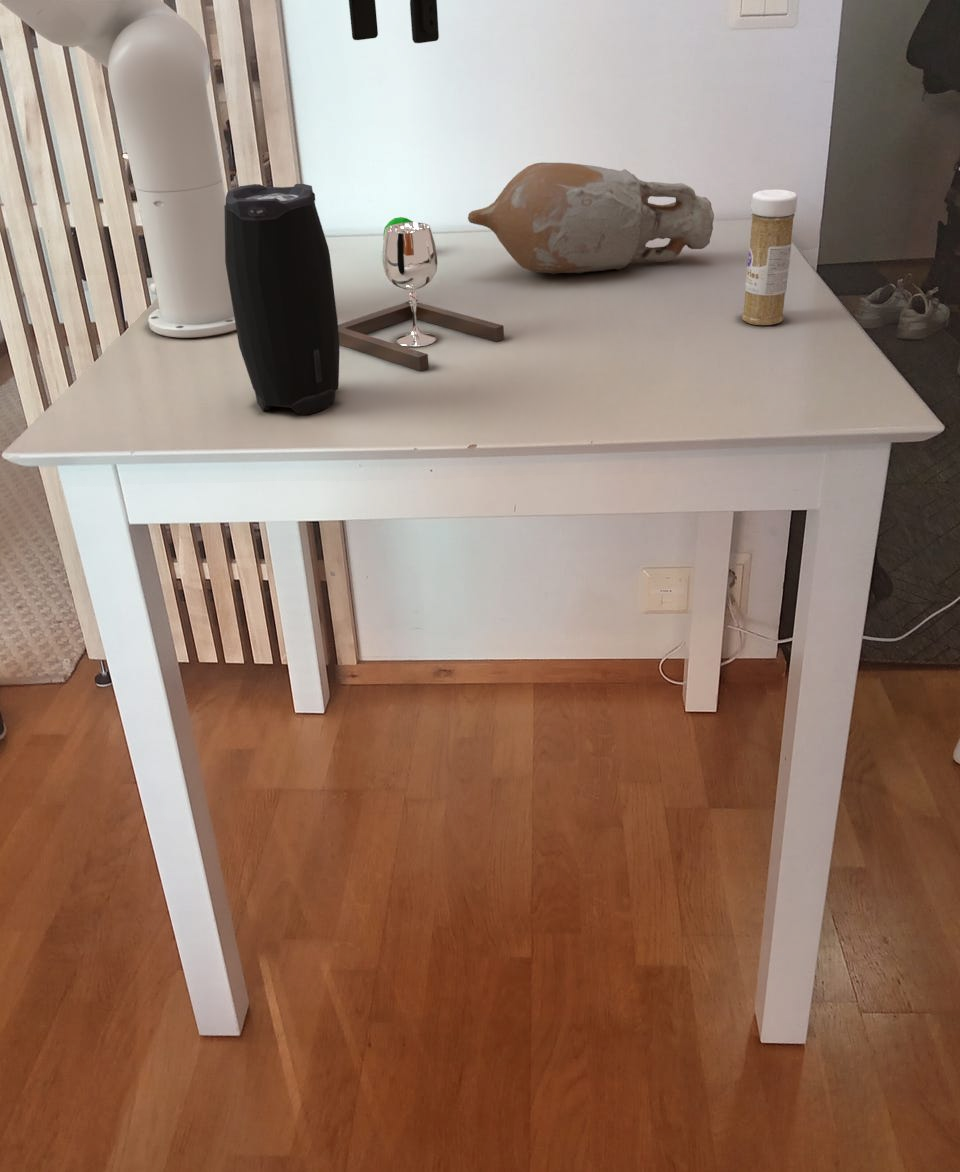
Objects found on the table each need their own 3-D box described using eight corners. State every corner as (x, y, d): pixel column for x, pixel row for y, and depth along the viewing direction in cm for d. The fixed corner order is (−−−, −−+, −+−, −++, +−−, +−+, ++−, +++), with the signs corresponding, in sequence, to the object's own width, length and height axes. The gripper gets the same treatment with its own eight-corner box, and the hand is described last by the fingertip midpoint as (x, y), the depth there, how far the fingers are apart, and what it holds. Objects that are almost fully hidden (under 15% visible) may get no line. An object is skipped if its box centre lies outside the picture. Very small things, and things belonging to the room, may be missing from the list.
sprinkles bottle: (734, 316, 119) (744, 190, 112) (772, 311, 120) (784, 186, 113) (753, 329, 115) (765, 199, 108) (791, 324, 116) (806, 195, 109)
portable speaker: (243, 394, 106) (207, 187, 95) (335, 379, 108) (310, 175, 98) (258, 425, 99) (221, 206, 89) (356, 408, 101) (332, 193, 91)
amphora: (454, 165, 134) (688, 103, 133) (480, 280, 145) (697, 223, 144) (467, 211, 124) (721, 144, 123) (495, 330, 135) (727, 270, 134)
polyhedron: (423, 249, 150) (421, 214, 147) (417, 259, 145) (414, 222, 143) (389, 249, 150) (385, 214, 148) (381, 259, 146) (377, 223, 144)
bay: (328, 341, 118) (327, 327, 117) (412, 312, 125) (411, 300, 125) (420, 371, 109) (419, 357, 108) (504, 338, 116) (503, 325, 115)
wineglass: (435, 349, 114) (427, 235, 108) (383, 348, 115) (373, 234, 109) (447, 331, 119) (441, 221, 113) (398, 330, 120) (388, 221, 114)
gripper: (295, -149, 108) (316, 41, 117) (410, -163, 97) (424, 47, 106) (353, -149, 112) (369, 34, 121) (469, -163, 102) (477, 39, 111)
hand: (394, 40), depth 114 cm, fingers open, 9 cm apart
